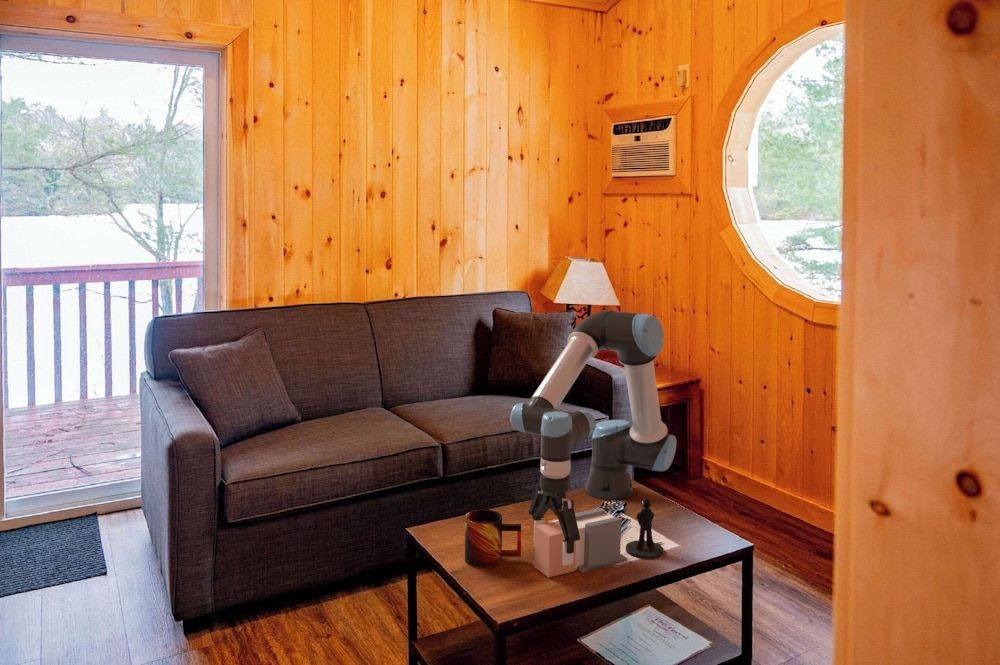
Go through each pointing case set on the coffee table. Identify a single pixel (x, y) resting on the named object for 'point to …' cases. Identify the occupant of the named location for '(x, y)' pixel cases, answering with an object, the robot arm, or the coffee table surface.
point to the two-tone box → (598, 540)
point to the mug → (487, 539)
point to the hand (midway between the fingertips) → (552, 553)
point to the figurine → (646, 547)
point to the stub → (550, 550)
